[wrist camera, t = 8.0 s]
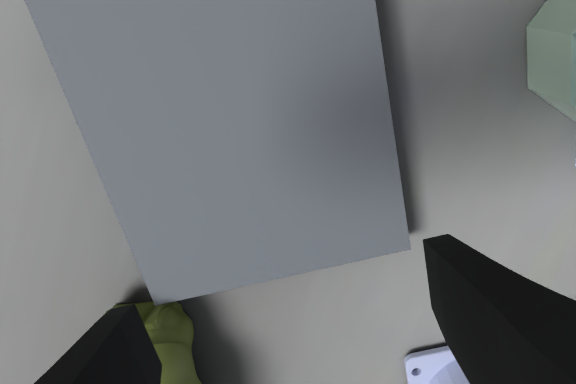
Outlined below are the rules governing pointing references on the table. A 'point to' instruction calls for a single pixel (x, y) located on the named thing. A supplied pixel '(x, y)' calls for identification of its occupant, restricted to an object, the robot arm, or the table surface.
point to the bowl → (553, 55)
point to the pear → (170, 340)
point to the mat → (233, 133)
